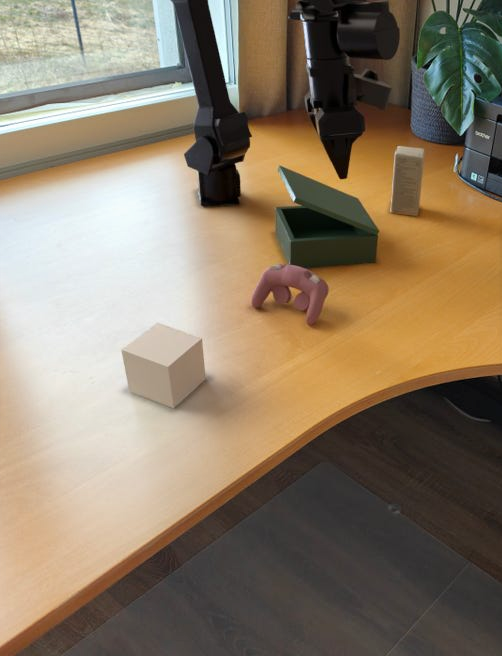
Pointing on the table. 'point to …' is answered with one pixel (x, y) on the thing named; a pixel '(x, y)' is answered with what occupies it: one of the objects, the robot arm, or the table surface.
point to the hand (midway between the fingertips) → (338, 170)
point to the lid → (326, 200)
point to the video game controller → (295, 277)
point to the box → (407, 180)
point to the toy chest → (321, 239)
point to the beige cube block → (164, 364)
